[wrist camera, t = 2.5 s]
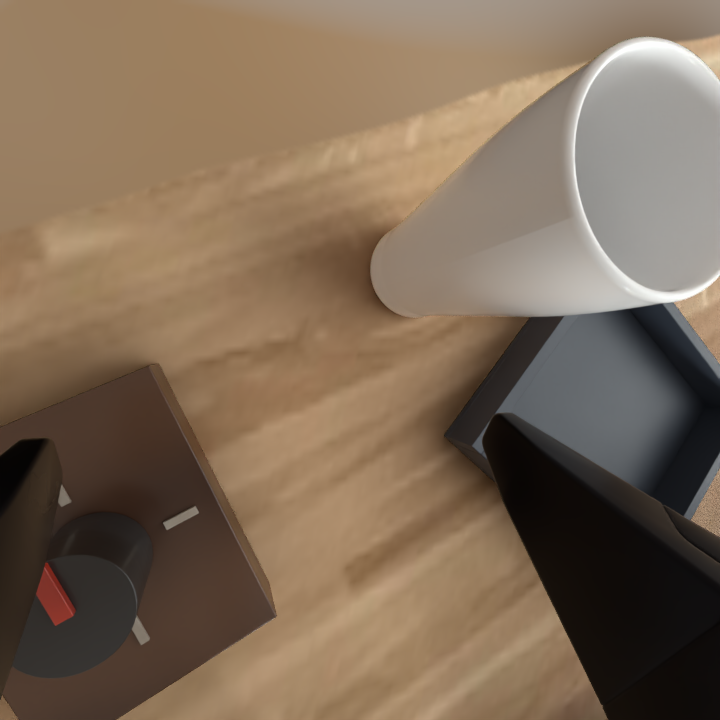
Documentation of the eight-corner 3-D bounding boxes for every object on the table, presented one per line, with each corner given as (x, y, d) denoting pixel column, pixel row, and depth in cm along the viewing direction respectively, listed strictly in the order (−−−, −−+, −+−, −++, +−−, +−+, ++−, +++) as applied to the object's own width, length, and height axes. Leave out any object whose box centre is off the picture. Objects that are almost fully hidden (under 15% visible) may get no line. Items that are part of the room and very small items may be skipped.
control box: (269, 583, 22) (277, 619, 19) (71, 704, 20) (45, 768, 17) (158, 363, 20) (149, 365, 17) (-81, 462, 18) (-142, 485, 15)
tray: (708, 403, 34) (753, 408, 31) (603, 581, 30) (643, 605, 27) (582, 245, 29) (622, 233, 26) (443, 435, 26) (471, 446, 23)
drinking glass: (338, 306, 23) (529, 238, 9) (376, 195, 24) (610, -30, 10) (439, 346, 25) (721, 342, 11) (471, 244, 26) (778, 117, 12)
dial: (170, 573, 18) (157, 635, 14) (71, 629, 17) (27, 713, 13) (126, 494, 17) (100, 535, 13) (20, 545, 16) (-41, 608, 12)
